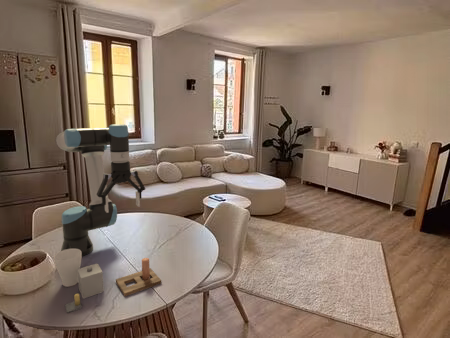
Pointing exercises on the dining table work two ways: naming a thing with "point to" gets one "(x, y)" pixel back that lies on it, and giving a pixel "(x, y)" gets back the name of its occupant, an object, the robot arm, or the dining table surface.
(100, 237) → the dining table surface
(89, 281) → the block
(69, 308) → the pad
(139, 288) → the board
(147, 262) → the peg
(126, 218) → the dining table surface
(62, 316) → the dining table surface
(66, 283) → the cup
